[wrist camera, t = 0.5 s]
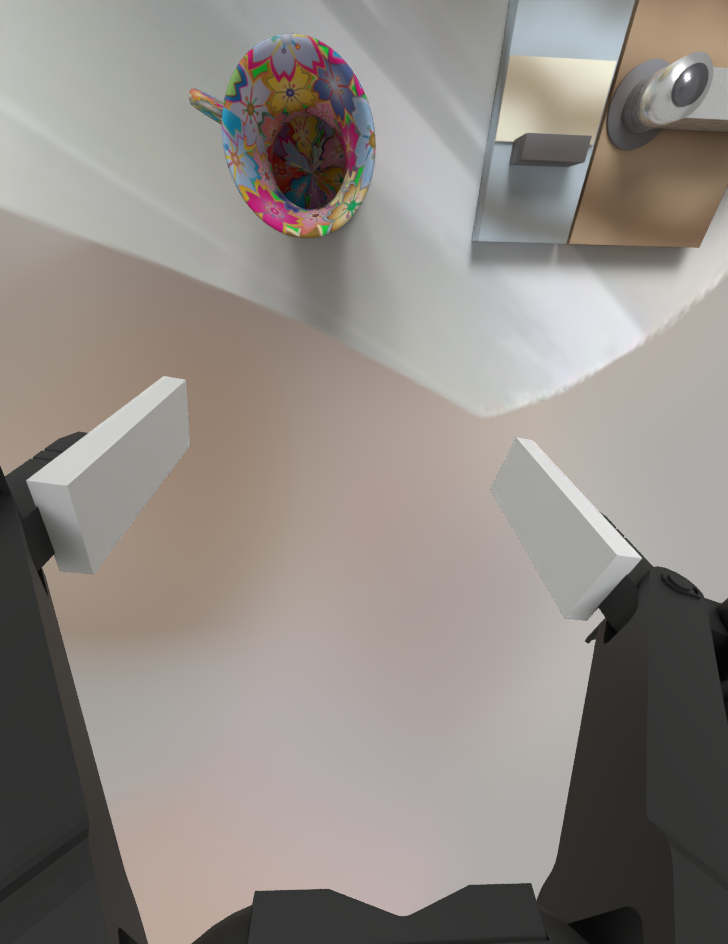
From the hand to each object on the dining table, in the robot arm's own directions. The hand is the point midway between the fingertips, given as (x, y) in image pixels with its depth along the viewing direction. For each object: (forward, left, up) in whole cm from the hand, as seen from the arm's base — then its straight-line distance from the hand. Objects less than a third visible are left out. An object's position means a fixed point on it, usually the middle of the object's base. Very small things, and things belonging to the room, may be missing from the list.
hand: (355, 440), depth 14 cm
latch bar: (-16, +27, -25) cm, 40 cm away
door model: (-16, +23, -27) cm, 39 cm away
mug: (-12, -4, -27) cm, 30 cm away
